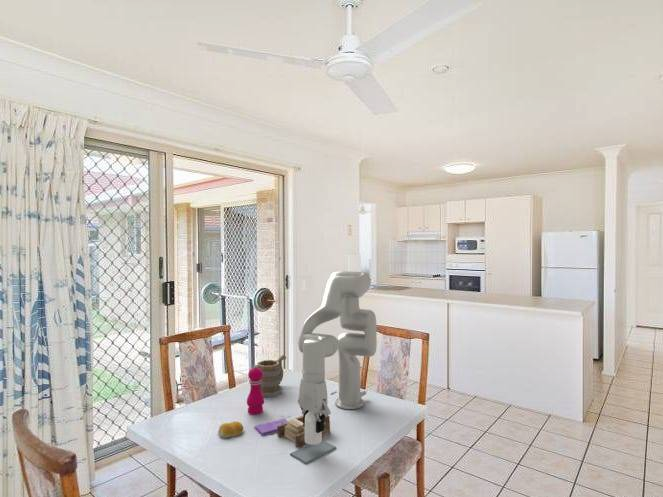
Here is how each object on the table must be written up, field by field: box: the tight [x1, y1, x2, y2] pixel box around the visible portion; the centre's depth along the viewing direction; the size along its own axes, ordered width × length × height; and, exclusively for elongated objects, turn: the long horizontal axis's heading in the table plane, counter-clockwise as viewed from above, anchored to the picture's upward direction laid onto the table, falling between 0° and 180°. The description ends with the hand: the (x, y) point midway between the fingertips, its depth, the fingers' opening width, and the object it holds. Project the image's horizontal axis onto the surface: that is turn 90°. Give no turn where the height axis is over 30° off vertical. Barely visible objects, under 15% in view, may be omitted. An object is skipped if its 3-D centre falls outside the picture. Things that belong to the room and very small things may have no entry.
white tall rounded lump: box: [305, 411, 323, 445], centre depth 135 cm, size 6×12×6 cm
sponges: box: [254, 418, 288, 437], centre depth 153 cm, size 7×13×2 cm, turn 121°
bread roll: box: [217, 420, 244, 439], centre depth 149 cm, size 8×9×4 cm
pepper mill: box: [246, 364, 265, 416], centre depth 168 cm, size 7×7×20 cm
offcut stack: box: [284, 418, 305, 443], centre depth 145 cm, size 5×8×6 cm, turn 46°
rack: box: [276, 414, 331, 448], centre depth 148 cm, size 16×11×6 cm
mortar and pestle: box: [256, 354, 287, 398], centre depth 193 cm, size 20×13×15 cm, turn 147°
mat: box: [289, 439, 337, 465], centre depth 136 cm, size 14×8×1 cm, turn 136°
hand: (313, 427), depth 136 cm, fingers closed on white tall rounded lump, 5 cm apart
